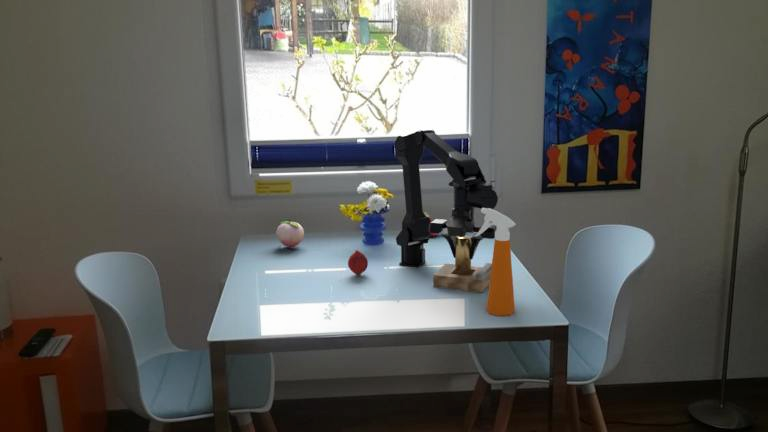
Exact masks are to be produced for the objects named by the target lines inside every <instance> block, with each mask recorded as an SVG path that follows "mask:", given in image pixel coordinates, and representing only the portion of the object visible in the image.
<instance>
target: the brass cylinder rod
mask: <svg viewBox="0 0 768 432" xmlns="http://www.w3.org/2000/svg"><path fill="white" fill-rule="evenodd" d="M471 238H472V236H470V235H465V236H464V237H459V236H457V237H456V238H455V258H454V259H455V260H454V264H455V269H456V270H458V271H469V270H471V266H472V260H471V259H470V252H471Z"/></svg>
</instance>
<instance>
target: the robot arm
mask: <svg viewBox="0 0 768 432" xmlns="http://www.w3.org/2000/svg"><path fill="white" fill-rule="evenodd" d="M395 139H396V140H394V146H393V147H394V151H395V156H396V158H397V160H398V161H399V163H400V164H401V166H402V176H403V177H402V179H403V187H404V190H403V191H404V200H405V210H406V212H405V215H404V217H403V219H402V221H401V231H400V232H399V233H398V234H397V236H396V237H395V240H396V246H400V256H401V257H400V262H399V263H398V264H399V266H409V267H415V268H419V267H421V266H422V265H423V264H424V263H426V249H425V248H424V244H428V242H429V239H430V237H431V236H430V233H436V234H435V235H437V234H438V235H439V234H440V233H441V234H440V237H441V238H444V239H445V240H446V241H447V243H448V245H449V248H450V251H451V253H452V256H453V258H454V259H455V238H456V237H457V236H459V237H464V236H467V235H466V234H467V233H472V234H473V236H471V252H470V259H471V261H472V260H473V258H474V256H475V253H476V251H477V248H478V246H479V244H480V243H481V241H482V240H483V239H487V240H488V239H490V240H493V239H494V240H495V231H497V226H495V225H492V226H491V227H489V228H488V229H487V230H485V231H484V232H483V233H482V234H480V235H478V236H476V237H475V235H476V234H477V233H478V232H479V230H480V229H481V227H482V226H480V225H479V226H478V225H475V224H476V220H475V210H476V209H480V210H481V209H482V208H487V209H488V208H490V209H493V210H494V209H495V208H496V206H497V204H498V200H499V197H498V194H497V192H496V191H495V190H494V189H493V185H492V184H487V180H486V177H485V175H484V174H483V172H482V170H481V168H480V165H479V162H478V159H476V158H474V157H473V156H470V155H469V154H466V153H464V152H463V153H462V152H459V151H457V150H456V149H455V148H453V147H452V146H451V145H450V144H449V143H447V142H446V141H445V140H444V139H443V138H441V136H439V135H438V134H437V133H436V131H434V129H431V128H425V129H419V130H417V131H414V132H413V133H409V134H404V135H398V136H397V137H396V138H395ZM424 148H425V149H426V150H427V151H428V152H429V153H431V154H432V155H433V156H435V158H437V160H439V161H440V162H442V163H443V165H444V166H445V170H446V172H447V173H448V174H449V176H450V177H451V178H452V180H451V181H449V183H448V186H449V187H453V208H452V211H451V216H450V218H449V220H448V219H442V218H441V219H440V218H436V219H435V220H434V219H433V220H434V221H433V220H432V219H431V220H430V217H426V215H425V214H424V212H425V211H424V210H423V209H424V207H423V198H422V197H423V196H422V187H421V186H422V185H421V174H420V173H421V172H420V162H421V161H422V158H423V156H424ZM430 221H433V222H431V223H430Z"/></svg>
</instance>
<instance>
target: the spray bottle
mask: <svg viewBox="0 0 768 432" xmlns="http://www.w3.org/2000/svg"><path fill="white" fill-rule="evenodd" d="M480 213H482V214H484V215H485V216H484V218H483V219H484V221H483V224H482V225H481V226H480V227H481V229H480V230H479V232H478V233H477V234H476V235H475V237H476V236H478V235H480V234H482V233H483V232H484V231H485V230H487V229H488V228H489V227H491V226H492V225H495V226H497V231H495V238H494V242H493V243H494V244H493V251H492V260H491V261H492V262H491V263H492V267H491V276H490V284H489V285H488V286H489V287H488V294H487V302H486V312H487V313H488V314H491V315H494V316H497V317H506V316H510V315H513V314H514V313H515V310H516V308H515V293H514V281H513V279H514V278H513V266H512V251H511V240H510V235H511V231H509V230H510V228H513V227H515V226H516V223H515V221H514V220H512V219H511V218H510V217H508V216H507V215H505V214H503V213H502V212H500V211H497V210H496V209H495V210H494V209H490V208H488V209H487V208H482V209H480Z"/></svg>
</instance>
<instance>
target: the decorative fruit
mask: <svg viewBox="0 0 768 432" xmlns="http://www.w3.org/2000/svg"><path fill="white" fill-rule="evenodd" d="M304 233H305V230H304V227H302V225H301V224H299V223H298V222H295V221H291V219H288V221H287V220H285V221H281V222H280V223H279V225H278V227H277V229H276V232H275V235H276V238H277V240H278V241H279V242H280V243H281V244H282V245H283V246H285V247H287V248H289V249H293V248H295V247H296V246H299V245H300V243H301V242H302V240H303V239H304V236H305V235H304Z"/></svg>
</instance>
